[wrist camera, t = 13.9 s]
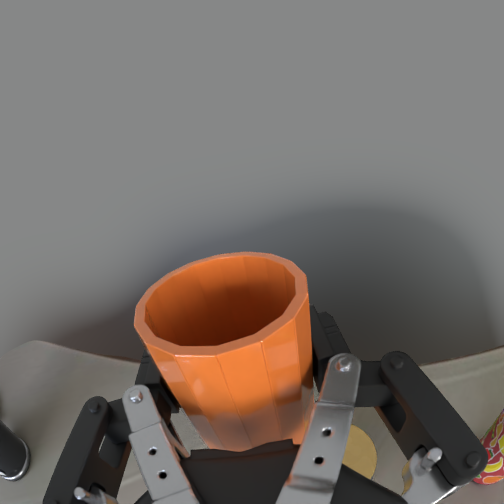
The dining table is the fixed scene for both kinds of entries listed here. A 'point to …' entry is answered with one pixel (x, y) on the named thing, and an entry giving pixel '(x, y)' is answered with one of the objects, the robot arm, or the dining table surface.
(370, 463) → the jar lid
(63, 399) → the dining table surface
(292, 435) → the cup
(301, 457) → the robot arm
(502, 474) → the smoothie
